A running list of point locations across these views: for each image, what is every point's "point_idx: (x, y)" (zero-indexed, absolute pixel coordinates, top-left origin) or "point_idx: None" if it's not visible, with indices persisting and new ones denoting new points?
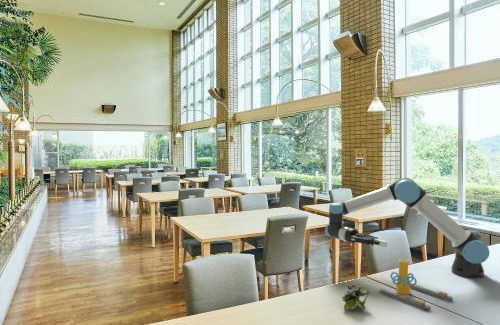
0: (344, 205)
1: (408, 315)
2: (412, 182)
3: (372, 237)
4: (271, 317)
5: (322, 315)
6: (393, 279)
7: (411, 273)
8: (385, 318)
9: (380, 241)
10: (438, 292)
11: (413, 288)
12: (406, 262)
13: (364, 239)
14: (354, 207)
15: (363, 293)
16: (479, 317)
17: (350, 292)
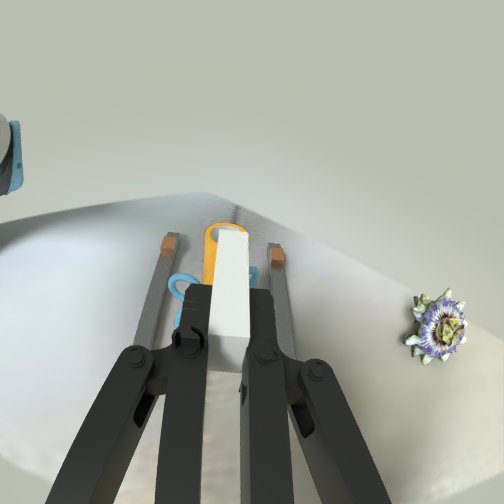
0: None
1: (333, 265)
2: None
3: (164, 413)
4: None
5: (487, 346)
6: (274, 306)
7: (181, 273)
8: (387, 282)
9: (247, 273)
10: (173, 249)
11: (157, 322)
12: (232, 226)
13: (351, 420)
14: None
15: (428, 303)
16: (216, 202)
17: (463, 306)
